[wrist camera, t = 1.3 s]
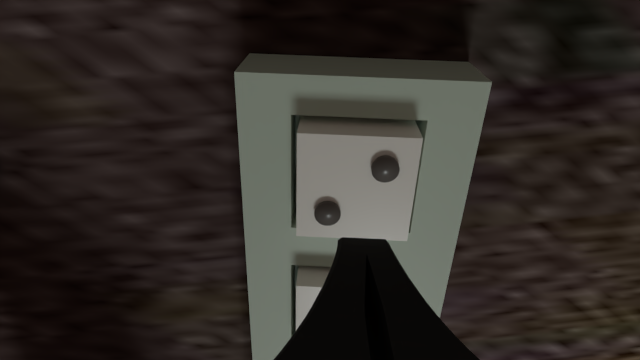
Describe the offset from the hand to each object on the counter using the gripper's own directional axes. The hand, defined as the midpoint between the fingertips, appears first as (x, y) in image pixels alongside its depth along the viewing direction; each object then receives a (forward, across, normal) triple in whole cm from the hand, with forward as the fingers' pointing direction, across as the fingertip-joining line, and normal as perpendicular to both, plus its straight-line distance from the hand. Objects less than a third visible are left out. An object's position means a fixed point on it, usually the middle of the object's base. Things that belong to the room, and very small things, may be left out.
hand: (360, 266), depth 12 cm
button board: (+8, 0, +7) cm, 11 cm away
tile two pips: (+6, 0, 0) cm, 6 cm away
